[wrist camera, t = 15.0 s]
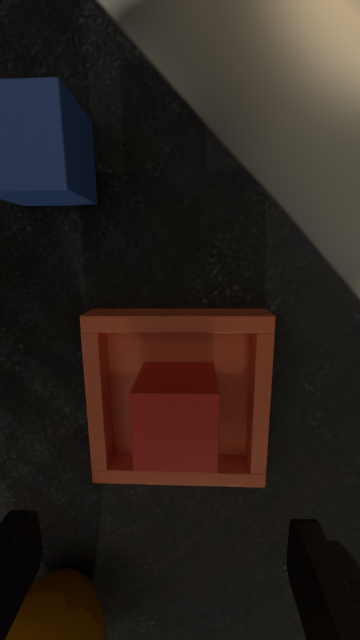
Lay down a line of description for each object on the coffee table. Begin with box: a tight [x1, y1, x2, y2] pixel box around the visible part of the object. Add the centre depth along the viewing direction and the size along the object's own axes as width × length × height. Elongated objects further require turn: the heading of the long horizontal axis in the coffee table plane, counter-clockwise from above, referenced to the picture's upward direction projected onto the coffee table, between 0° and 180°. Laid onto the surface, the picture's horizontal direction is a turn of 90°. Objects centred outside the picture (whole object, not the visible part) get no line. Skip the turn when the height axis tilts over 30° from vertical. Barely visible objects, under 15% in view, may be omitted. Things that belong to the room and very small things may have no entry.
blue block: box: [0, 77, 97, 206], centre depth 16 cm, size 4×4×4 cm
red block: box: [129, 362, 220, 473], centre depth 18 cm, size 4×4×4 cm
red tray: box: [80, 308, 276, 487], centre depth 19 cm, size 11×11×2 cm
